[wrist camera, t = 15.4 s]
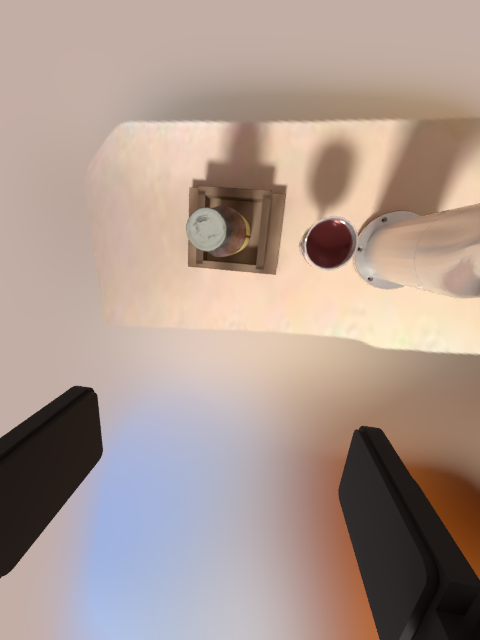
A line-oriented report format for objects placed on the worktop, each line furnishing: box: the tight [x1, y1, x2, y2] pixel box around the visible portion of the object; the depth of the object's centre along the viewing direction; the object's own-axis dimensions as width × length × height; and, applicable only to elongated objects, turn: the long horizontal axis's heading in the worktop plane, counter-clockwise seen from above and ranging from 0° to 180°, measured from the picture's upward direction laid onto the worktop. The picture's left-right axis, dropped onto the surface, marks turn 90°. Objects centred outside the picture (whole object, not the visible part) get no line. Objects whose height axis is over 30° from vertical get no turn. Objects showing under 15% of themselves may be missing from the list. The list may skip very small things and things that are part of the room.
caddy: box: [188, 186, 286, 275], centre depth 41 cm, size 16×13×4 cm
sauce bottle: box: [186, 205, 251, 257], centre depth 32 cm, size 6×6×20 cm
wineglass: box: [299, 216, 358, 270], centre depth 36 cm, size 7×7×12 cm
